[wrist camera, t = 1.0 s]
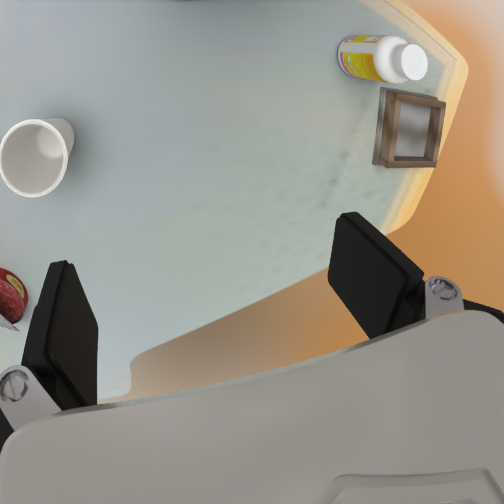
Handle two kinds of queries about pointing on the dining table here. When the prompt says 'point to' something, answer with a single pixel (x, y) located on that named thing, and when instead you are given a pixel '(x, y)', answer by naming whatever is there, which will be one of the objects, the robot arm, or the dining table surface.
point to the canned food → (11, 299)
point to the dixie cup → (36, 155)
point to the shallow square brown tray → (408, 129)
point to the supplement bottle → (382, 59)
